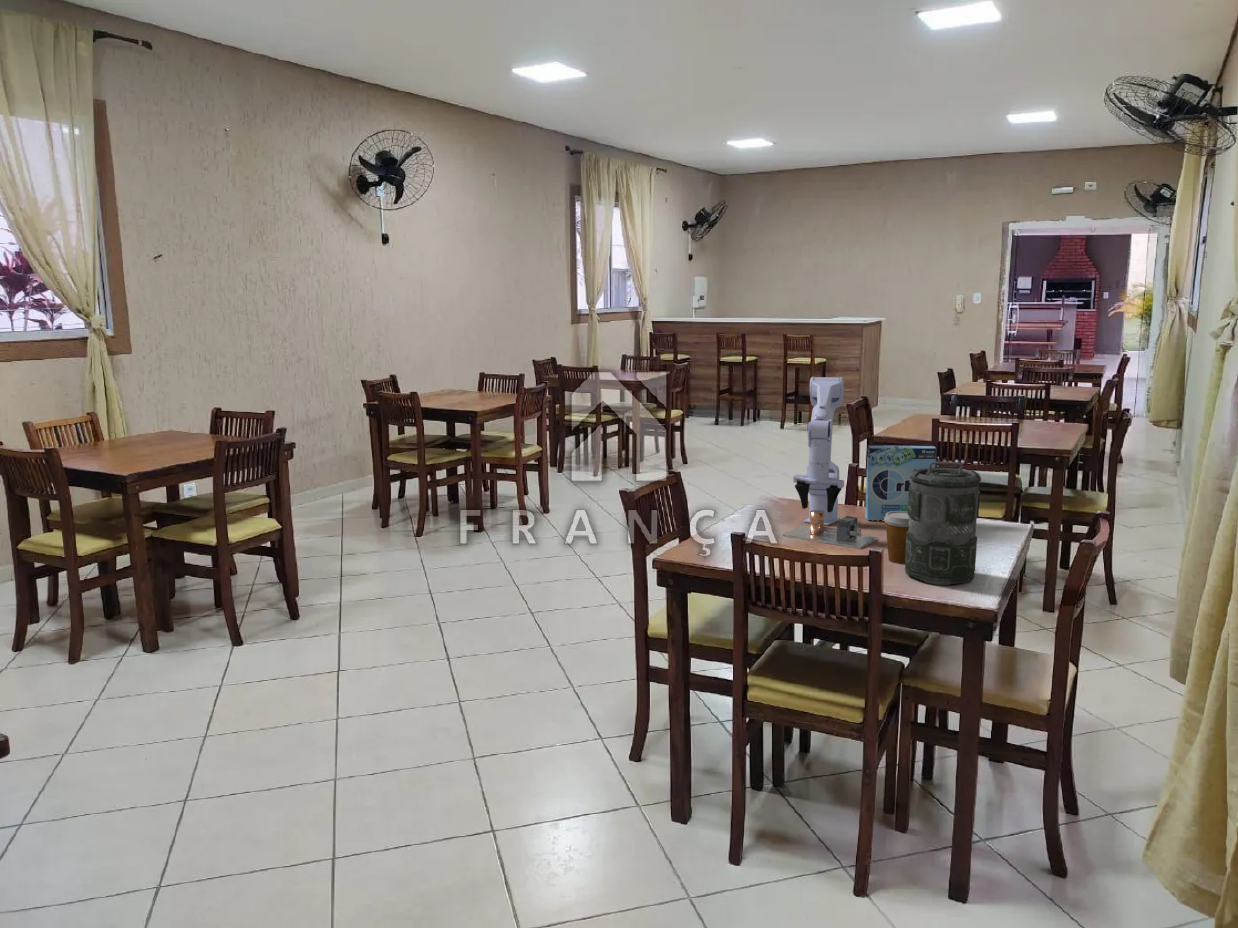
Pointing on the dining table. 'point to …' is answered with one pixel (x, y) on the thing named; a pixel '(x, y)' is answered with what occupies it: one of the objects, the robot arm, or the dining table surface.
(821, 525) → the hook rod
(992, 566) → the dining table surface
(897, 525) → the disposable coffee cup
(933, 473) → the canister
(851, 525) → the grey plate
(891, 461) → the gum box
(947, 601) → the dining table surface
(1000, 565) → the dining table surface
